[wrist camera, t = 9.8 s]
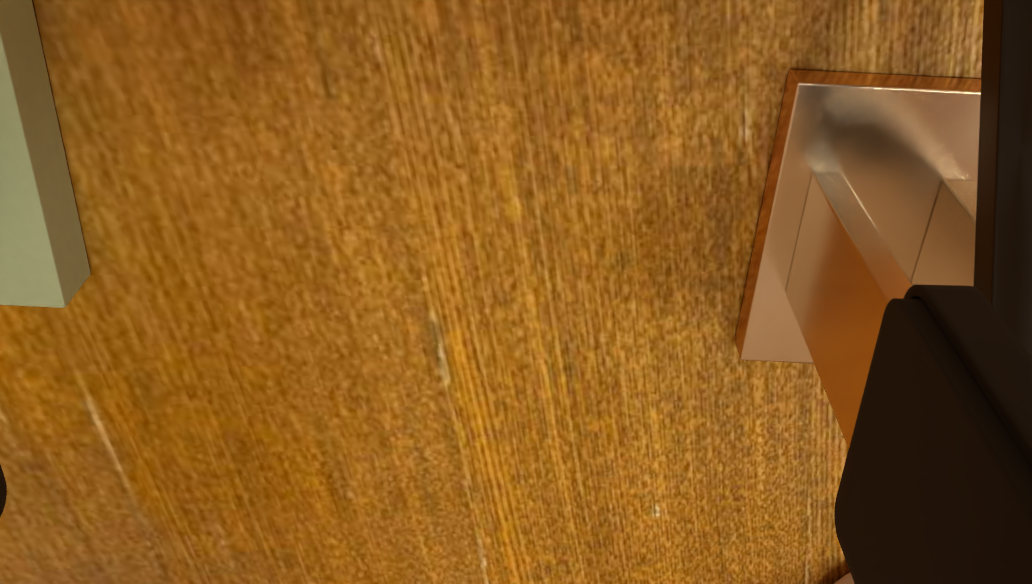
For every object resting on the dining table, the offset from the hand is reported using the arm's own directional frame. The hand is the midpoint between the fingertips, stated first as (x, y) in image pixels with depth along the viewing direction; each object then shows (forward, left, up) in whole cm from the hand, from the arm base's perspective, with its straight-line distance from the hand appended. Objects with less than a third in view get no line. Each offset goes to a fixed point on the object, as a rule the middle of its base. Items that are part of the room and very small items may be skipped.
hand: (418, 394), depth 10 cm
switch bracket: (+8, +13, -21) cm, 26 cm away
